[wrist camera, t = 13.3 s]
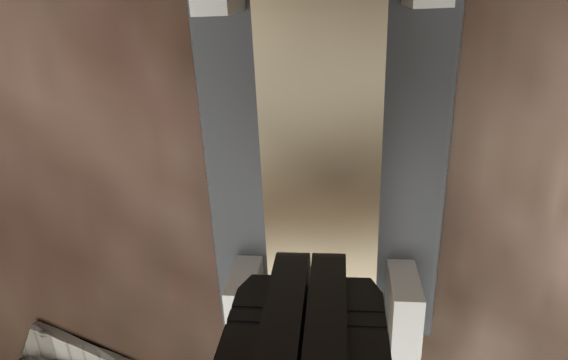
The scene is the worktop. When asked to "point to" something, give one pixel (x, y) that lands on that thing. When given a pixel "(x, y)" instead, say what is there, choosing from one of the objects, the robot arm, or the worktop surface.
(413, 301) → the board
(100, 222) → the worktop surface
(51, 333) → the packaged product
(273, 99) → the slat
